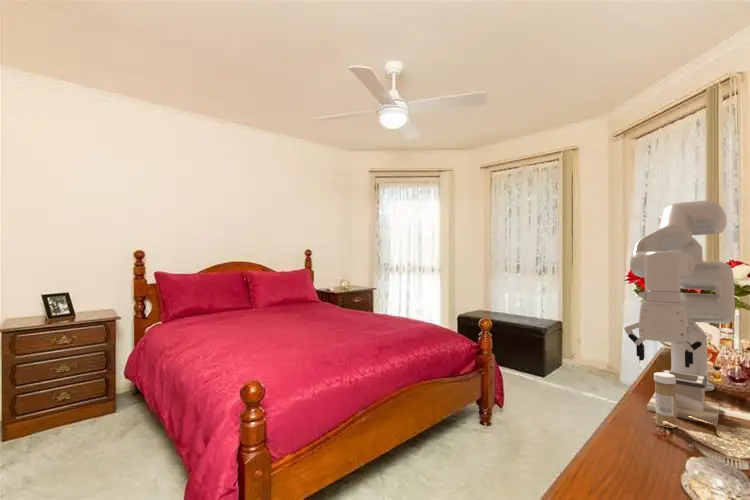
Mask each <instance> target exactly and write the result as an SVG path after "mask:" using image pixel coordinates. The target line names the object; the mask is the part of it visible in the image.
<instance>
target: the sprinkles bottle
mask: <svg viewBox="0 0 750 500" xmlns="http://www.w3.org/2000/svg"><path fill="white" fill-rule="evenodd" d="M653 380H654V393H655V408H656V412H655V425H657V426H659V427H661V426H663V423H662V421H667V422H669V423H672V424H674V425H677V426H678V424H677V417H676V396H675V383H676V377H675V376H674V375H672V374H669V373H663V372H662V371H661V372H660V371H659V372H654V373H653ZM671 430H673V428H672V429H671Z"/></svg>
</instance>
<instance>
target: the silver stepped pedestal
mask: <svg viewBox="0 0 750 500" xmlns="http://www.w3.org/2000/svg"><path fill="white" fill-rule="evenodd" d="M661 372H663V373H669V374H672V375H674V376H675V377H676V383H675V396H676V418H681V419H685V420H690V421H692V422H693V421H694V422H697V421H696V420H695V419H693V418H689V417H688V416H692V417H695V418H697V419H701V420H704V421H707V422H710V423H713V424H716V425H717V426H718V423H719V422H718V420H719V415H720V409H719V408H720V403H718V402H717V403H716V402H712V401H707V400H706V396H705V395H706V393H705V392H706V391H705V386H706V382H707V376H702V375H696V374H690V373H683V372H677V371H671V369H670V370H669V369H662V371H661ZM646 408H647V409H646V410H647V411H650V412H654V413H656V408H655V392H654V394H653V395H652V396H651V398H650V399H649V401H648V403H647V404H646ZM716 425H715V426H716Z"/></svg>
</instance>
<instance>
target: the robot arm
mask: <svg viewBox="0 0 750 500" xmlns="http://www.w3.org/2000/svg"><path fill="white" fill-rule="evenodd" d="M726 227H727V215H726V213H725V211H724V209H723V207H722V205H721V204H720V203H718V202H716V201H714V200H696V201H685V202H684V201H683V202H676V203H672V204H669V205H667V206H666V207H665V208H664V209H663V210H662V212H661V215H660V216H659V217H658V227H657V229H656V230H654V231H652V232H650V233H649V234H647V235H645V236H643V237H642V238H640V239H639V240H638V241H637V242H636V243H635V245H634V247H633V249H632V253H631V256H630V261H629V266H630V267H629V268H630V271H631V273H632V274H633V275H634V276H636V277H639V278H644V291H642V292H640V291H639V292H638V298H643V299H644V301H641V303H640V307H639V317H638V318H639V319H638V322H635V323H632V324H631V325H627V326H625V327H624V331H625V333H626V334H627V336H628V338H629V340H631V341H632V342H633V343H634V345H636V346H635V347H636V357H638V360H639V361H641V362H642V361H644V360H645V344H644V342H645V340H647V341H652V342H653V341H654V342H658V343H659V342H660V343H661V342H662V343H669V344H670V357H671V358H670V359H671V360H670V361H671V362H670V365H671V367H670V370H671V371H677V372H683V373H690V374H696V375H702V376H707V382H706V386H705V392H711V391H714V390H715V385H714V384H713V383H711V382H709V381H708V379H709V378H708V375H709V373H708V347H707V345H708V344H707V343H708V342H707V339H708V336H707V334H706V333H705V331H704V329H702V327H700V326H699V324H697V323H707V324H709V323H710V324H721V325H729V324H730V323H732V322H734V320H735V318H736V317H735V315H736V305H735V304H736V302H735V301H736V300H735V299H736V298H735V279H734V271H733V268H732V266H731V265H729V263H726V262H724V261H704V260H703V246H702V245H701V243H700V242H699V241H698V240H696V238H694V237H693V236H705V235H709V236H711V235H719V234H721V233H723V232H724V231H725V230H726ZM681 289H683V290H699V291H701V290H703V291H712V292H715V294H711V293H696V292H693V293H692V292H682V291H681ZM636 329H638V335H639V337H638V336H636V335H635V334H634V331H633V330H636Z"/></svg>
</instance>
